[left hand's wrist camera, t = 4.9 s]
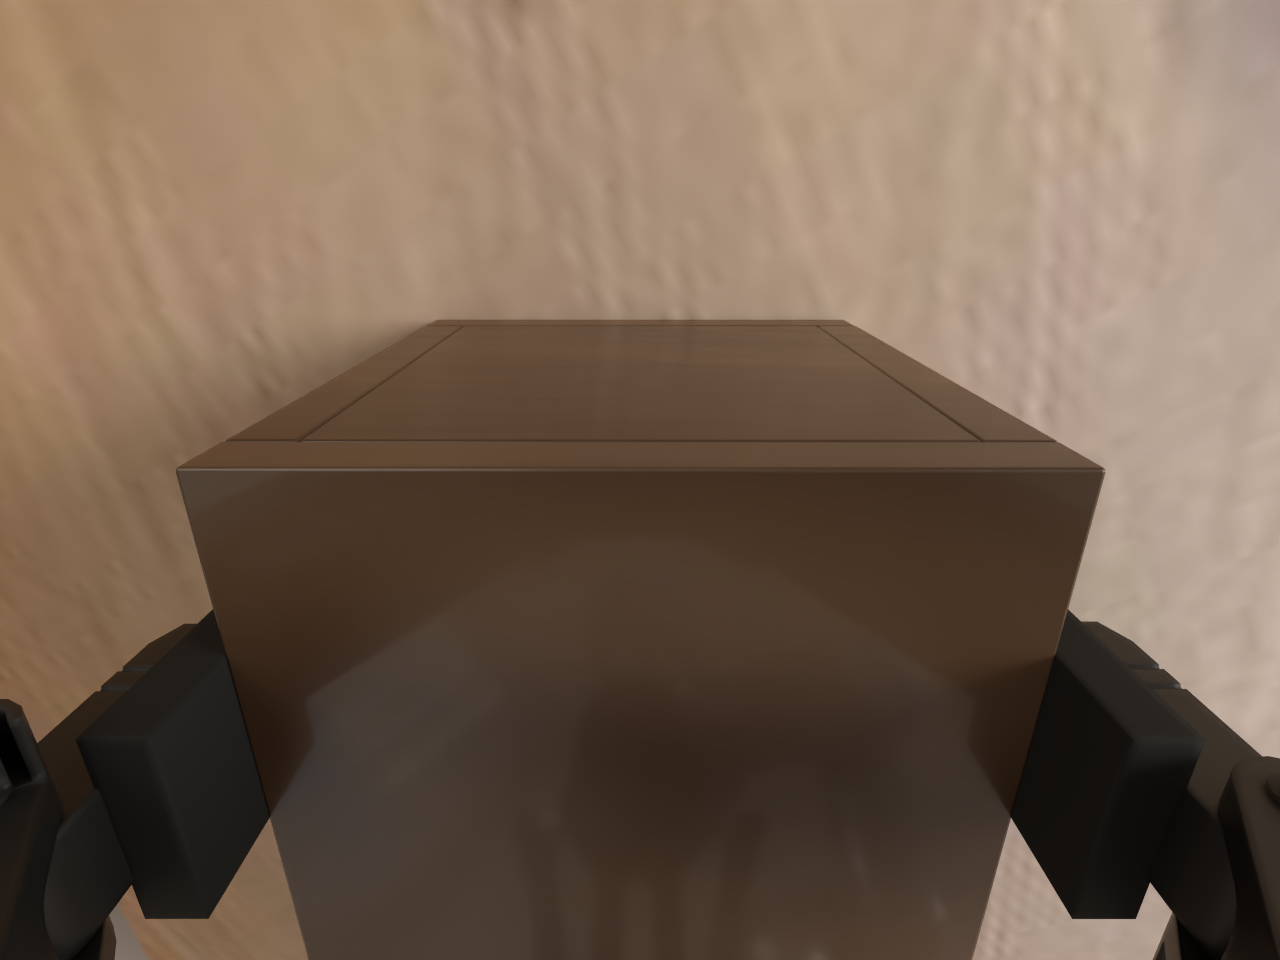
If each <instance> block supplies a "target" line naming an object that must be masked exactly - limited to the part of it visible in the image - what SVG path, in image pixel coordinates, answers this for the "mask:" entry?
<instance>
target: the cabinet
mask: <svg viewBox="0 0 1280 960" xmlns="http://www.w3.org/2000/svg"><path fill="white" fill-rule="evenodd" d="M176 474H177V477H178V481H179V485H180V488H181V492H182V496H183V499H184V503H185V507H186V510H187V514H188V518H189V521H190V525H191V529H192V532H193V536H194V540H195V543H196V547H197V551H198V554H199V558H200V562H201V565H202V569H203V573H204V577H205V580H206V584H207V588H208V591H209V595H210V599H211V602H212V606H213V610H214V613H215V617H216V621H217V624H218V628H219V632H220V635H221V639H222V643H223V646H224V650H225V654H226V657H227V661H228V665H229V668H230V672H231V676H232V679H233V683H234V687H235V691H236V694H237V698H238V702H239V705H240V709H241V713H242V716H243V720H244V724H245V727H246V731H247V735H248V738H249V742H250V746H251V749H252V753H253V757H254V760H255V764H256V768H257V771H258V775H259V779H260V782H261V786H262V790H263V794H264V797H265V801H266V805H267V808H268V812H269V816H270V819H271V823H272V827H273V830H274V834H275V838H276V841H277V845H278V849H279V852H280V856H281V860H282V863H283V867H284V871H285V874H286V878H287V882H288V885H289V889H290V893H291V896H292V900H293V904H294V908H295V911H296V915H297V919H298V922H299V926H300V930H301V933H302V937H303V941H304V944H305V948H306V952H307V955H308V959H309V960H972V958H973V954H974V951H975V947H976V943H977V940H978V936H979V932H980V929H981V925H982V921H983V918H984V914H985V910H986V907H987V903H988V899H989V896H990V892H991V889H992V885H993V881H994V878H995V874H996V870H997V867H998V863H999V859H1000V856H1001V852H1002V848H1003V845H1004V841H1005V837H1006V834H1007V830H1008V826H1009V823H1010V819H1011V815H1012V812H1013V808H1014V804H1015V801H1016V797H1017V793H1018V790H1019V786H1020V782H1021V779H1022V775H1023V771H1024V768H1025V764H1026V760H1027V757H1028V753H1029V750H1030V746H1031V742H1032V739H1033V735H1034V731H1035V728H1036V724H1037V720H1038V717H1039V713H1040V709H1041V706H1042V702H1043V698H1044V695H1045V691H1046V687H1047V684H1048V680H1049V676H1050V673H1051V669H1052V665H1053V662H1054V658H1055V654H1056V651H1057V647H1058V643H1059V640H1060V636H1061V632H1062V629H1063V625H1064V621H1065V618H1066V614H1067V611H1068V607H1069V603H1070V600H1071V596H1072V592H1073V589H1074V585H1075V581H1076V578H1077V574H1078V570H1079V567H1080V563H1081V559H1082V556H1083V552H1084V548H1085V545H1086V541H1087V537H1088V534H1089V530H1090V526H1091V523H1092V519H1093V515H1094V512H1095V508H1096V504H1097V501H1098V497H1099V493H1100V490H1101V486H1102V482H1103V479H1104V475H1105V469H1104V468H1103V467H1101V466H1100V465H1098V464H1096V463H1094V462H1093V461H1091V460H1089V459H1087V458H1086V457H1084V456H1082V455H1080V454H1079V453H1077V452H1075V451H1073V450H1072V449H1070V448H1068V447H1066V446H1065V445H1063V444H1061V443H1059V442H1057V441H1056V440H1054V439H1052V438H1051V437H1049V436H1047V435H1045V434H1044V433H1042V432H1040V431H1038V430H1037V429H1035V428H1033V427H1031V426H1030V425H1028V424H1026V423H1024V422H1023V421H1021V420H1019V419H1017V418H1016V417H1014V416H1012V415H1010V414H1009V413H1007V412H1005V411H1003V410H1002V409H1000V408H998V407H996V406H995V405H993V404H991V403H989V402H988V401H986V400H984V399H982V398H981V397H979V396H977V395H975V394H974V393H972V392H970V391H968V390H967V389H965V388H963V387H961V386H960V385H958V384H956V383H954V382H953V381H951V380H949V379H947V378H946V377H944V376H942V375H940V374H939V373H937V372H935V371H933V370H932V369H930V368H928V367H926V366H925V365H923V364H921V363H919V362H918V361H916V360H914V359H912V358H911V357H909V356H907V355H905V354H904V353H902V352H900V351H898V350H897V349H895V348H893V347H891V346H890V345H888V344H886V343H884V342H883V341H881V340H879V339H877V338H876V337H874V336H872V335H870V334H869V333H867V332H865V331H863V330H862V329H860V328H858V327H856V326H853V325H852V324H850V323H848V322H846V321H844V320H436V321H434V322H433V323H431V324H429V325H427V326H425V327H423V328H422V329H420V330H418V331H416V332H415V333H413V334H411V335H409V336H408V337H406V338H404V339H402V340H401V341H399V342H397V343H395V344H394V345H392V346H390V347H388V348H387V349H385V350H383V351H381V352H380V353H378V354H376V355H374V356H373V357H371V358H369V359H367V360H366V361H364V362H362V363H360V364H359V365H357V366H355V367H353V368H352V369H350V370H348V371H346V372H345V373H343V374H341V375H339V376H338V377H336V378H334V379H332V380H331V381H329V382H327V383H325V384H324V385H322V386H320V387H318V388H317V389H315V390H313V391H312V392H310V393H308V394H306V395H305V396H303V397H301V398H299V399H298V400H296V401H294V402H292V403H291V404H289V405H287V406H285V407H284V408H282V409H280V410H278V411H277V412H275V413H273V414H271V415H270V416H268V417H266V418H264V419H263V420H261V421H259V422H257V423H256V424H254V425H252V426H250V427H249V428H247V429H245V430H243V431H242V432H240V433H238V434H236V435H235V436H233V437H231V438H229V439H228V440H226V442H222V443H220V444H218V445H216V446H214V447H213V448H211V449H209V450H207V451H206V452H204V453H202V454H200V455H199V456H197V457H195V458H193V459H192V460H190V461H188V462H186V463H185V464H183V465H181V466H179V467H178V468H177V469H176Z"/></svg>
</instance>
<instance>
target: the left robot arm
mask: <svg viewBox="0 0 1280 960" xmlns="http://www.w3.org/2000/svg"><path fill="white" fill-rule="evenodd" d="M1180 685H1181V684H1180V683H1179V682H1178V681H1177V680H1175V679H1174V678H1173V677H1172V676H1171V675H1170V674H1169V673H1168V672H1166V671H1165V670H1164V669H1159V664H1157V663H1156V662H1155V661H1154V660H1153V659H1152V658H1151V657H1150V656H1148V655H1147V654H1146V653H1145V652H1144V651H1143V650H1142V649H1141V648H1139V647H1138V646H1137V645H1136V644H1135V643H1134V642H1133V641H1131V640H1129V639H1127V638H1126V637H1124V636H1122V635H1120V634H1118V633H1117V632H1115V631H1113V630H1111V629H1109V628H1108V627H1106V626H1104V625H1102V624H1100V623H1098V622H1081V621H1080V620H1079V619H1078V618H1077V617H1076V616H1074V615H1073V614H1072V613H1071V612H1070V611H1069V610H1068V611H1067V614H1066V618H1065V621H1064V625H1063V629H1062V632H1061V636H1060V640H1059V643H1058V647H1057V651H1056V654H1055V658H1054V662H1053V665H1052V669H1051V673H1050V676H1049V680H1048V684H1047V687H1046V691H1045V695H1044V698H1043V702H1042V706H1041V709H1040V713H1039V717H1038V720H1037V724H1036V728H1035V731H1034V735H1033V739H1032V742H1031V746H1030V750H1029V753H1028V757H1027V760H1026V764H1025V768H1024V771H1023V775H1022V779H1021V782H1020V786H1019V790H1018V793H1017V797H1016V801H1015V804H1014V808H1013V812H1012V815H1011V818H1012V820H1013V821H1014V823H1015V825H1016V826H1017V828H1018V830H1019V831H1020V833H1021V835H1022V836H1023V838H1024V840H1025V841H1026V843H1027V845H1028V846H1029V848H1030V850H1031V851H1032V853H1033V854H1034V856H1035V858H1036V859H1037V861H1038V863H1039V864H1040V866H1041V868H1042V869H1043V871H1044V873H1045V874H1046V876H1047V878H1048V879H1049V881H1050V883H1051V884H1052V886H1053V888H1054V889H1055V891H1056V893H1057V894H1058V896H1059V898H1060V899H1061V901H1062V902H1063V904H1064V906H1065V907H1066V909H1067V911H1068V912H1069V914H1070V916H1071V917H1072V919H1136V917H1137V914H1138V912H1139V909H1140V906H1141V904H1142V901H1143V899H1144V896H1145V894H1146V891H1147V889H1148V886H1149V883H1151V884H1152V885H1153V887H1154V888H1155V889H1156V891H1157V892H1158V893H1159V895H1160V896H1161V897H1162V899H1163V900H1164V901H1165V903H1166V904H1167V905H1168V907H1169V908H1170V909H1171V910H1172V915H1171V917H1170V919H1169V922H1168V924H1167V927H1166V929H1165V931H1164V934H1163V936H1162V939H1161V941H1160V943H1159V946H1158V948H1157V951H1156V953H1155V955H1154V958H1153V960H1280V759H1279V758H1274V757H1269V756H1265V757H1262V756H1261V755H1260V754H1259V753H1258V752H1257V751H1255V750H1254V749H1253V748H1252V747H1251V746H1250V745H1249V744H1248V743H1246V742H1245V741H1244V740H1243V739H1242V738H1241V737H1240V736H1239V735H1237V734H1236V733H1235V732H1234V731H1233V730H1232V729H1231V728H1230V727H1228V726H1227V725H1226V724H1225V723H1224V722H1223V721H1222V720H1221V719H1219V718H1218V717H1217V716H1216V715H1215V714H1214V713H1213V712H1212V711H1210V710H1209V709H1208V708H1207V707H1206V706H1205V705H1204V704H1203V703H1201V702H1200V701H1199V700H1198V699H1197V698H1196V697H1195V696H1193V695H1192V694H1191V693H1190V692H1189V691H1188V690H1187V689H1181V686H1180ZM269 818H270V816H269V812H268V808H267V805H266V801H265V797H264V794H263V790H262V786H261V782H260V779H259V775H258V771H257V768H256V764H255V760H254V757H253V753H252V749H251V746H250V742H249V738H248V735H247V731H246V727H245V724H244V720H243V716H242V713H241V709H240V705H239V702H238V698H237V694H236V691H235V687H234V683H233V679H232V676H231V672H230V668H229V665H228V661H227V657H226V654H225V650H224V646H223V643H222V639H221V635H220V632H219V628H218V624H217V621H216V617H215V613H214V610H212V611H211V612H209V613H208V614H207V615H206V616H205V617H204V618H203V619H202V620H201V621H200V622H199V623H198V624H183V625H182V626H180V627H178V628H176V629H174V630H173V631H171V632H169V633H167V634H165V635H164V636H162V637H160V638H158V639H156V640H155V641H153V642H151V643H149V644H148V645H147V646H146V647H145V648H144V649H143V650H141V651H140V652H139V653H138V654H137V655H136V656H135V657H134V658H132V659H131V660H130V661H129V662H128V663H127V664H126V665H125V666H123V671H122V672H117V673H116V674H115V675H113V676H112V677H111V678H110V679H109V680H108V681H107V682H106V683H104V684H103V685H102V686H101V691H96V692H94V693H93V694H92V695H91V696H90V697H89V698H88V699H87V700H85V701H84V702H83V703H82V704H81V705H80V706H79V707H78V708H77V709H75V710H74V711H73V712H72V713H71V714H70V715H69V716H68V717H66V718H65V719H64V720H63V721H62V722H61V723H60V724H59V725H58V726H56V727H55V728H54V729H53V730H52V731H51V732H50V733H49V734H47V735H46V736H45V737H44V738H43V739H42V740H41V741H40V742H39V743H37V742H36V740H35V738H34V735H33V733H32V730H31V728H30V726H29V723H28V721H27V718H26V716H25V714H24V711H23V709H22V707H21V706H20V705H18V704H16V703H14V702H13V701H11V700H9V699H0V960H114V958H115V948H116V937H115V932H114V927H113V924H112V922H111V920H110V917H109V914H110V913H111V911H112V910H113V909H114V907H115V906H116V905H117V903H118V902H119V901H120V899H121V898H122V897H123V895H124V894H125V893H126V891H127V890H128V889H129V887H130V886H131V885H132V886H133V889H134V891H135V894H136V896H137V899H138V901H139V904H140V907H141V909H142V912H143V914H144V917H145V919H209V917H210V915H211V914H212V912H213V910H214V909H215V907H216V905H217V904H218V902H219V900H220V899H221V897H222V895H223V894H224V892H225V890H226V889H227V887H228V885H229V884H230V882H231V880H232V879H233V877H234V876H235V874H236V872H237V871H238V869H239V867H240V866H241V864H242V862H243V861H244V859H245V857H246V856H247V854H248V852H249V851H250V849H251V847H252V846H253V844H254V842H255V841H256V839H257V837H258V836H259V834H260V832H261V831H262V829H263V828H264V826H265V824H266V823H267V821H268V819H269Z"/></svg>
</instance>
